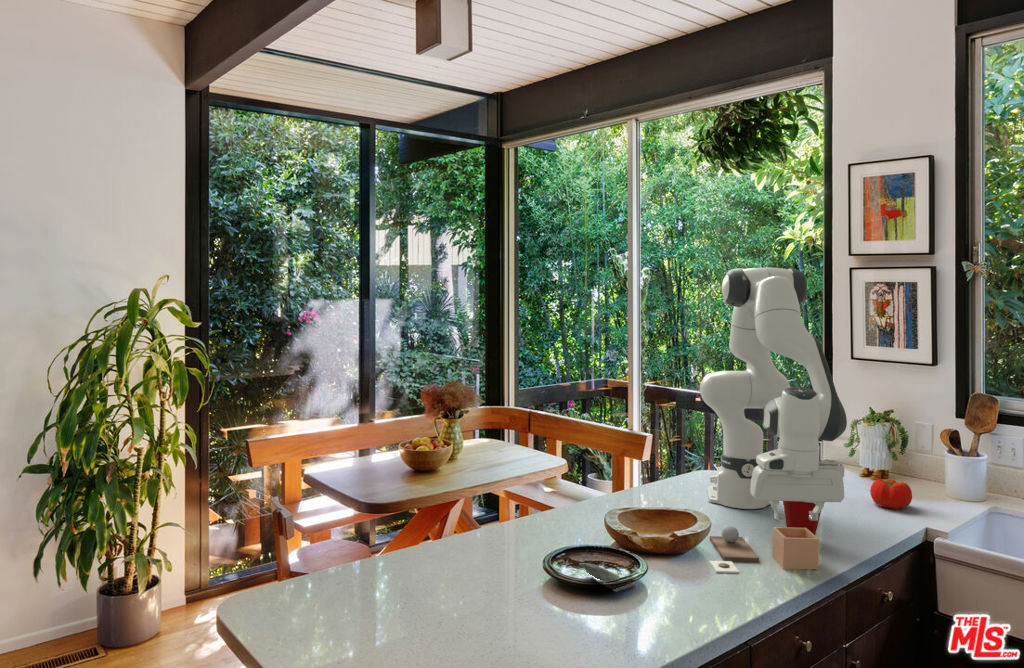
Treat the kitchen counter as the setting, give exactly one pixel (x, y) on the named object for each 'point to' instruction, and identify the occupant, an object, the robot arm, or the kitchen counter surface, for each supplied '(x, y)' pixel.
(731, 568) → the tile
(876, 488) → the tomato
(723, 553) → the walnut board
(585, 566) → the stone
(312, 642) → the kitchen counter surface
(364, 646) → the kitchen counter surface
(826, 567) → the kitchen counter surface
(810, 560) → the terracotta open box
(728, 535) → the grey ball
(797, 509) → the plastic cup
